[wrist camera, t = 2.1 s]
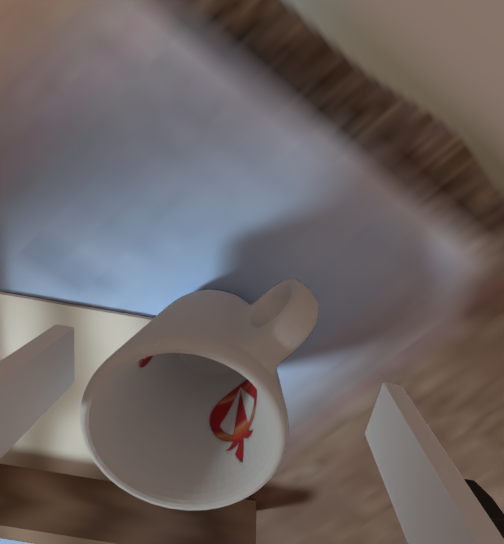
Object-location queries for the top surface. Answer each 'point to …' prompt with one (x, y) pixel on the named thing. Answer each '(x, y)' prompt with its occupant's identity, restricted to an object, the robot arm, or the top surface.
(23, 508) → the wooden corner frame
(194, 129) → the top surface
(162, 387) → the cup
